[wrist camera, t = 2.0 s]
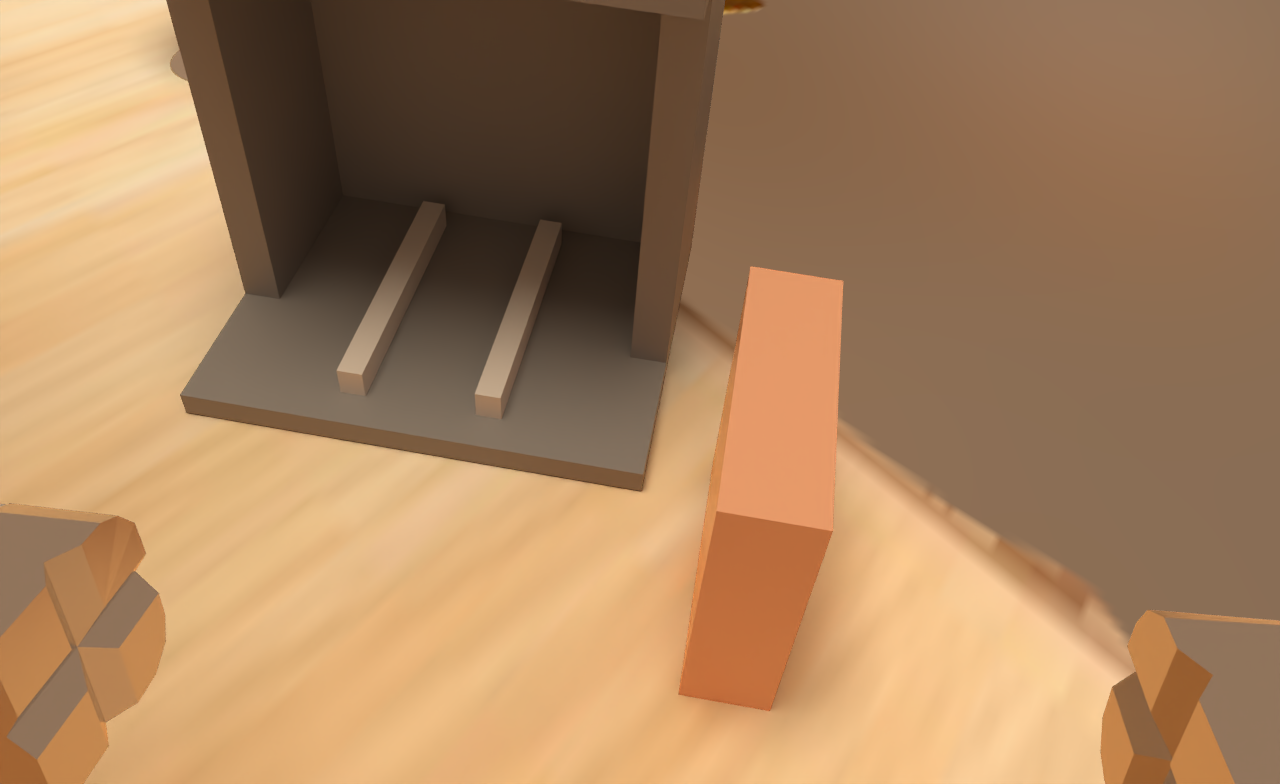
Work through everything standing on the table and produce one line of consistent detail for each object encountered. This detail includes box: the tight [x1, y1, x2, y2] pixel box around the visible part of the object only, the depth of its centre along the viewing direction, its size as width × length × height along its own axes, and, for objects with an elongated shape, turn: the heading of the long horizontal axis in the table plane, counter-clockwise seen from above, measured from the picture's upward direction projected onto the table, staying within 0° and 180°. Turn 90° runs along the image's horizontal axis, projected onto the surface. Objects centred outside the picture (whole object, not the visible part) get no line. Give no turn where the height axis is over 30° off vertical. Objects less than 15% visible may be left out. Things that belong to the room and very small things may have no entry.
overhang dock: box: [166, 0, 725, 491], centre depth 39 cm, size 15×18×19 cm
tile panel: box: [679, 267, 843, 711], centre depth 34 cm, size 10×3×10 cm, turn 171°
